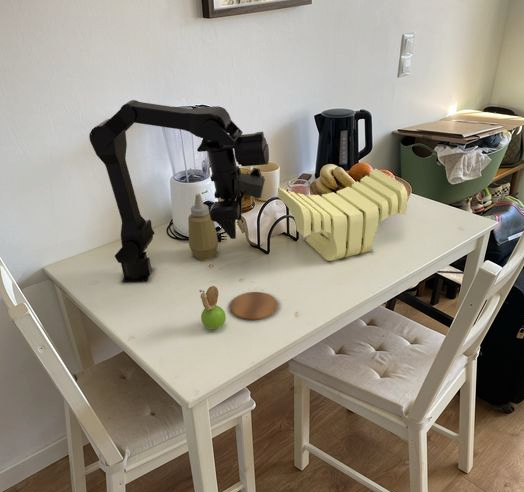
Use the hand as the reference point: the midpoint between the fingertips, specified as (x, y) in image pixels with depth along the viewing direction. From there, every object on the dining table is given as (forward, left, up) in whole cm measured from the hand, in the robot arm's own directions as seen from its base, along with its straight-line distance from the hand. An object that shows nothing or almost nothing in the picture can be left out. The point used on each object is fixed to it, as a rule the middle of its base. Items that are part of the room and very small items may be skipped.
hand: (236, 228), depth 124 cm
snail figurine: (-5, -20, -15) cm, 26 cm away
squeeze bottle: (-10, +14, -15) cm, 23 cm away
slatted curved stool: (+27, +16, -15) cm, 35 cm away
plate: (+4, -12, -15) cm, 19 cm away
